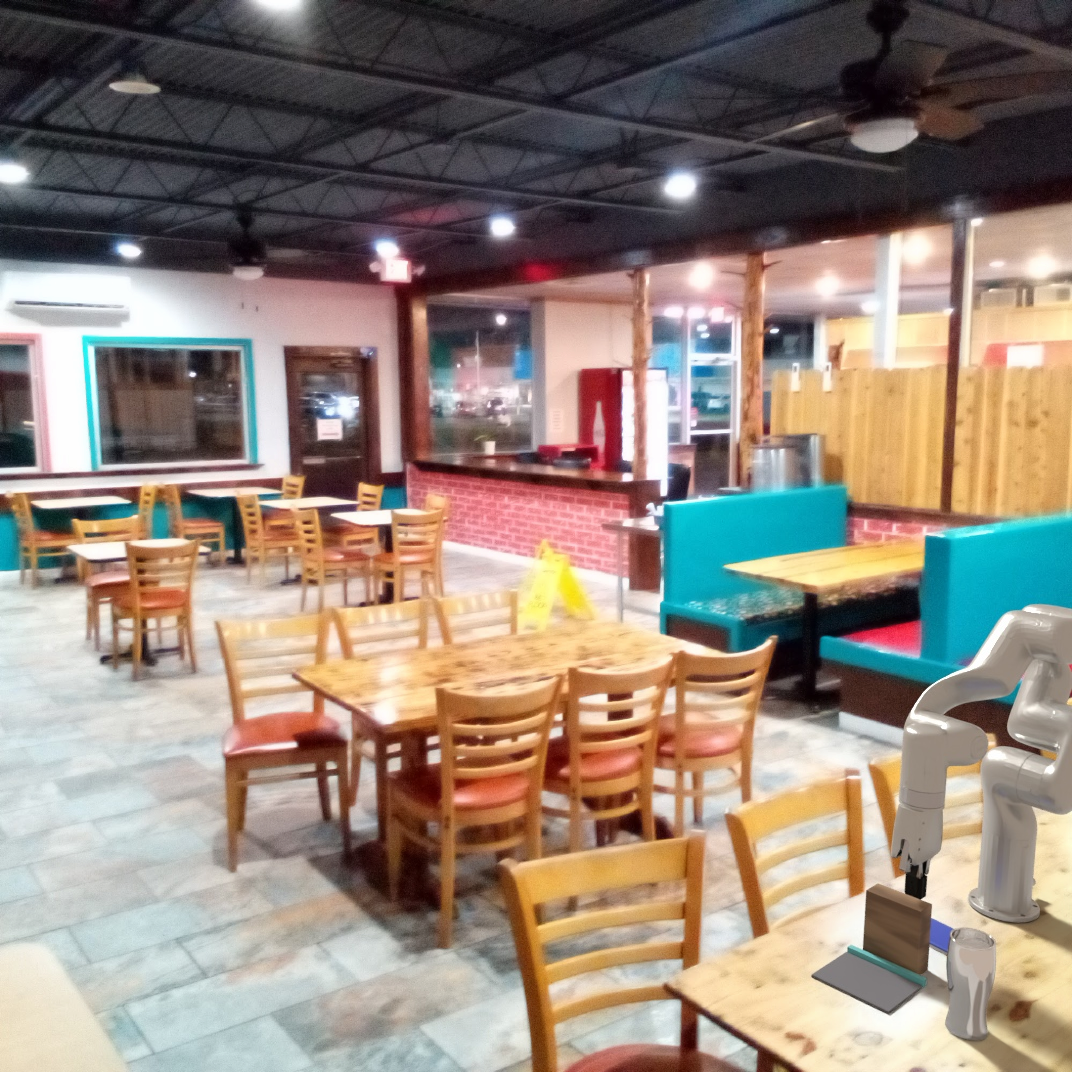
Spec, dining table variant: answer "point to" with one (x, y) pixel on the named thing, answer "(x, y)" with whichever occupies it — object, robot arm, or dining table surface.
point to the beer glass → (969, 982)
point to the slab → (897, 928)
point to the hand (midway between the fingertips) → (915, 895)
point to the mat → (867, 982)
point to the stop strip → (887, 965)
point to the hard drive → (939, 936)
